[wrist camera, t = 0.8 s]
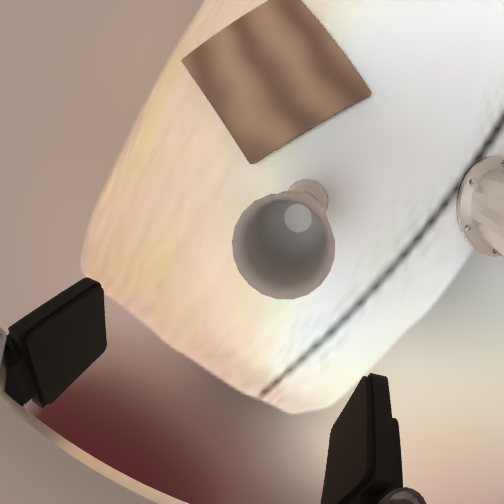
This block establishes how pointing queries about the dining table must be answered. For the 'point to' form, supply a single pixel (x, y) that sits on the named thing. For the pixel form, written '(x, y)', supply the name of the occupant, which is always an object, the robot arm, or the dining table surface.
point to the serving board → (274, 76)
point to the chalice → (285, 242)
